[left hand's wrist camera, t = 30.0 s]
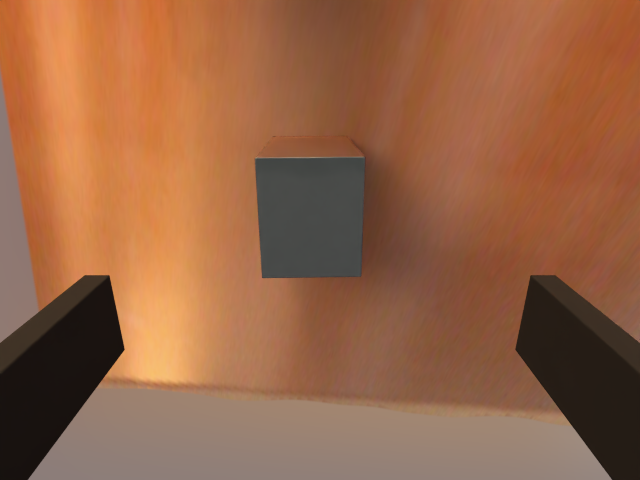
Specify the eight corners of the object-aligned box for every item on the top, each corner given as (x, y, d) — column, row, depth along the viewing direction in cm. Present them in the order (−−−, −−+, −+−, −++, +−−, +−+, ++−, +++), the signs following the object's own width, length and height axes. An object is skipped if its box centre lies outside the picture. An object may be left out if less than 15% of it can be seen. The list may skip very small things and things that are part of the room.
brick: (276, 222, 35) (261, 278, 24) (272, 136, 32) (254, 157, 22) (346, 221, 35) (361, 277, 24) (347, 135, 32) (365, 156, 22)
